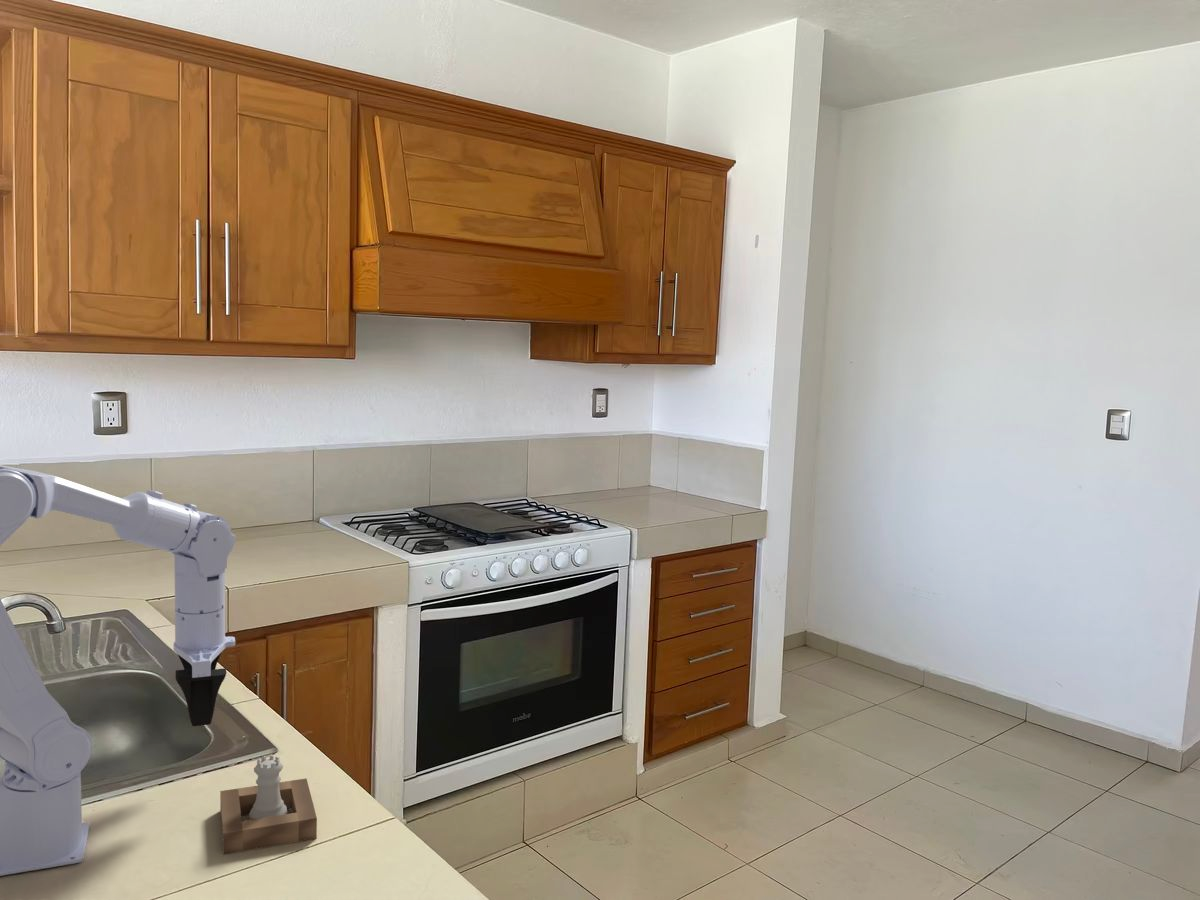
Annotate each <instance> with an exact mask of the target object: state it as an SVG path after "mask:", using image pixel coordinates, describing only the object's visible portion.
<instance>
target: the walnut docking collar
mask: <svg viewBox="0 0 1200 900" xmlns="http://www.w3.org/2000/svg"><path fill="white" fill-rule="evenodd" d="M308 783H309V781H308V778H299V779H294V780H287V781H280V782H279V789H280V796H281V799H282V800H283V802H284V805H286V807H287V809H290V808H291V812H292V813H287V814H284V815H278V816H272V817H265V818H259V819H253V820H250V819H247V820H242V816H247V815H249V813H250V811H251V809H252V808H253V805H254V803H255V801H256V797H257V790H258V785H252V786H246V787H239V788H238V787H237V788H233V789H225V790H220V791H219V792H220V795H219V797H220V805H219V806H220V810H219V811H220V820H221V821H220V823H221V826H220V827H221V838H222V839H221V840H222V851H223V852H222V853H223V855H227V854H235V853H240V852H245V851H251V850H257V849H263V848H269V847H274V846H279V845H280V846H281V845H286V844H291V843H297V842H303V841H309V840H314V839H317V836H318V835H317V832H318V828H317V827H318V822H317V821H318V819H317V818H318V817H317V813H316V809H315V806H314V802H313V797H312V795H311V790H310V787H309V784H308Z"/></svg>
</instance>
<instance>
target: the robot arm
mask: <svg viewBox="0 0 1200 900" xmlns="http://www.w3.org/2000/svg"><path fill="white" fill-rule="evenodd" d="M163 497H164V493H162V492H160V491H156V490H152V489H147V490H146V492H143V491H136V492H132V493H130V494H128V495H126V496H124V497H123V498H121V497H118V496H116V495H113V494H110V493H106V492H103V491H101V490H98V489H95V488H92V487H89V486H86V485H83V484H81V483H77V482H74V481H71V480H68V479H66V478H62V477H60V476H56V475H52V474H49V473H46V472H45V473H44V472H41V471H36V470H31V469H26V468H20V467H19V468H18V467H14V466H8V465H2V464H1V465H0V547H1V546H2V545H3V544H4V543H5V542H6V541H7V540H8V539H9V538H10V537H11V536H13V534H14V533H15V532H16V531H17V530H19V529H20V528H21V526H23V525H24V523H26V521H27V520H29V517H31V518H34V519H41V518H43V517H44V516H46V515H48V514H49V513H51V512H53V511H58V512H60V513H65V514H69V515H73V516H77V517H82V518H84V519H85V518H86V519H90V520H94V521H98V522H101V523H105V524H108V525H111V526H112V528H113V530H114V532H115V534H116V536H117V538H119V539H121V540H123V541H125V542H130V543H134V544H138V545H142V546H146V547H149V548H152V549H157V550H160V551H164V552H168V553H171V554H173V555H174V556H173V557H174V561H173V562H174V564H173V565H174V624H175V625H174V632H175V633H174V636H175V638H174V642H173V652H175V653H176V655H177V656H178V658H179V660H180V662H181V663H182V667H183V669H177V670H175V681H176V682H177V684H178V686H179V687H180V689H181V691H182V693H183V695H184V698H185V701H186V706H187V711H188V716H189V720H190V723H191V726H192V727H200V726H207V725H211V724H212V721H213V717H214V711H215V707H216V706H215V705H216V702H217V697H218V694H219V693H218V692H219V690H220V687H221V686H222V684H223V682H224V680H225V679H226V676H227V668H226V667H225V668H217V664H218V661H219V659H220V657H221V656H222V655H221V654H222V653H223V651H224V650H225V649H226V648H229V647H231V648H232V647H234V646H235V645H236V637H235V636H229V635H228V636H226V569H228V557H229V555H230V553H231V552H232V550H233V549H234V547H235V545H236V544H235V543H236V537H237V535H236V534H234V533H232V528H231V526H230V524H229V522H227V520H226V519H225V518H224V517H222V516H219V515H216V514H213V513H208V512H205V511H202V510H201V511H200V510H197V508H198V506H197V505H196V504H192V503H189V502H184V503H183V504H180V503H176V502H174V501H170V500H167V499H165V498H163ZM47 689H48V688H46V686H45V683H44V682H43V680H42V678H41V676H40V674H39V672H38V670H37V668H36V665H35V664H34V662H33V660H32V659H31V656H30V654H29V652H28V650H27V648H26V647H25V645H24V642H23V641H22V638H21V637H20V635H19V632H18V630H17V628H16V627H15V625H14V623H13V621H12V619H11V617H10V615H9V614H8V611H7V609H6V607H5V606H4V602H3V601H2V600H1V598H0V759H1V760H3V761H4V770H3V776H1V777H0V877H1V876H7V875H12V874H19V873H26V872H30V871H37V870H43V869H48V868H49V869H50V868H55V867H61V866H68V865H72V864H74V865H75V864H79V863H81V862H83V861H84V858H85V852H86V847H87V846H86V845H87V843H88V842H87V840H88V836H89V831H90V823H89V822H83V816H82V815H83V814H82V812H83V810H82V777H81V775H82V773H81V771H83V769H85V767H86V765H87V764H88V762H89V760H90V757H91V755H92V750H93V741H92V738H91V736H90V734H89V732H88V731H87V730H85V729H84V728H83V727H81V726H79V725H77V724H75V723H74V722H73V721H72V720H71V718H70V717H69V714H68V713H67V711H66V710H65V709H64V707H63V706H62V705H60V703H59V702H58V701H57V700H56V698H54V697H53V696H52V695H51V693H50V692H49V691H48V690H47Z"/></svg>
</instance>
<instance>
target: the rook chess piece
mask: <svg viewBox="0 0 1200 900" xmlns="http://www.w3.org/2000/svg"><path fill="white" fill-rule="evenodd" d="M283 768H284V765H283V764H282V762H281V759H280V757H279V756H275V755H272V754H271V755H269V759H267V756H266V755H264V756H262V757H261V758H258V759H257V762H256V765H255V766H254V768H253V772H254V773H255V774H256V775H257V778H256V780H255V784H257V785H256V786H258V790H257V797H256V801H255V803H254V805H253V808H252V809H251V811H250V813H249V814H248V817H249V820H253V819H259V818H265V817H272V816H278V815H284V814H288V808H287V807H286V805H284V802H283V800H282V799H281V796H280V789H279V782H281V780H282V777H281V775H280V772H281V771H282V770H283Z"/></svg>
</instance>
